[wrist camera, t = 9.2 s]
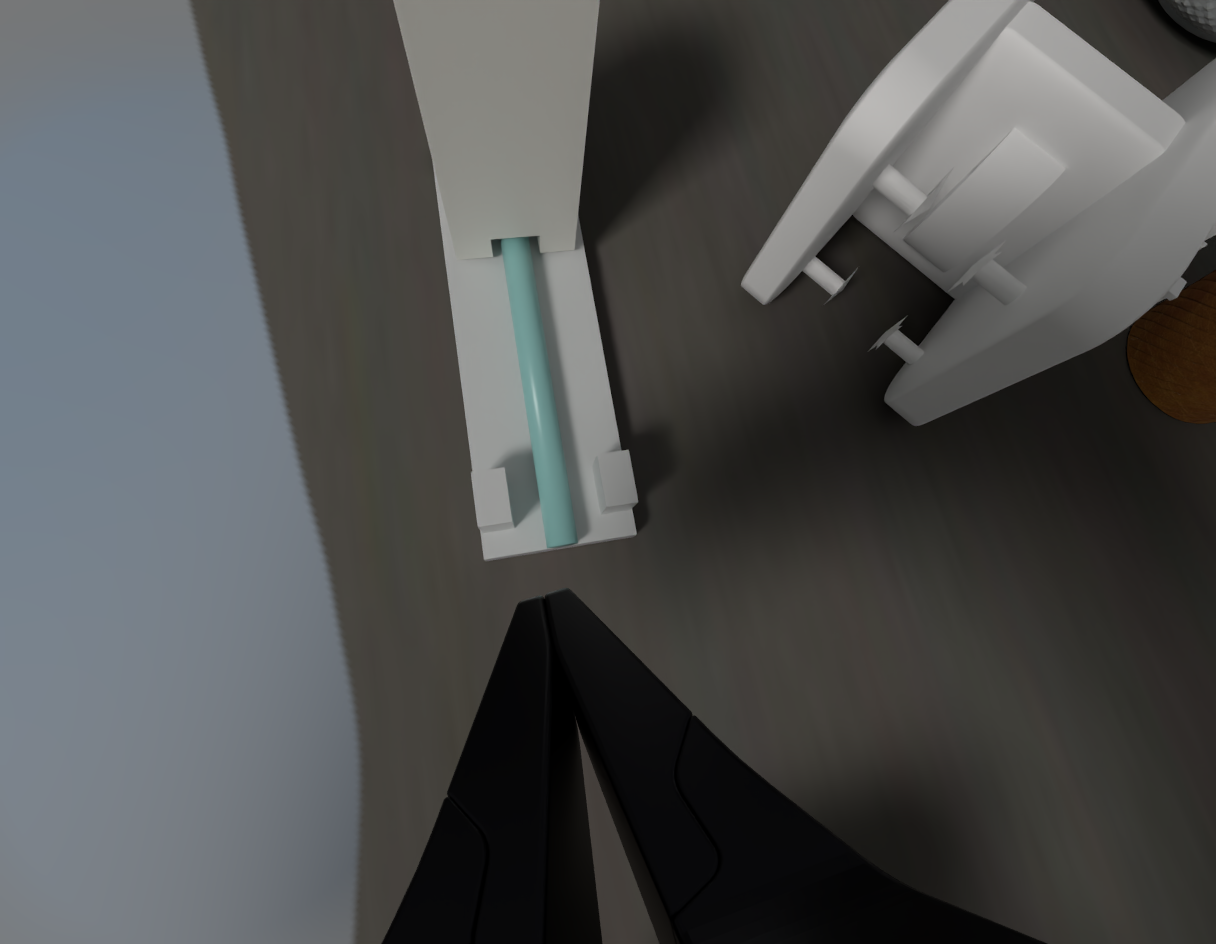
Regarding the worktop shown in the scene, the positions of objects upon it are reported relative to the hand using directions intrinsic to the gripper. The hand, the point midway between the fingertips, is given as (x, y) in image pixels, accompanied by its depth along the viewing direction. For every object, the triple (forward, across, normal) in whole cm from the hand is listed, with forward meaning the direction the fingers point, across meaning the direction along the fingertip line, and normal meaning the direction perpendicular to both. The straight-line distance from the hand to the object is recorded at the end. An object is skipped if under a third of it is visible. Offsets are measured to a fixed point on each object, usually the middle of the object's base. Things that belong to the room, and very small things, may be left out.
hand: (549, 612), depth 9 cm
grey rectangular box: (+20, -2, -4) cm, 21 cm away
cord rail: (+19, -2, -1) cm, 20 cm away
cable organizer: (+18, -20, +2) cm, 27 cm away
